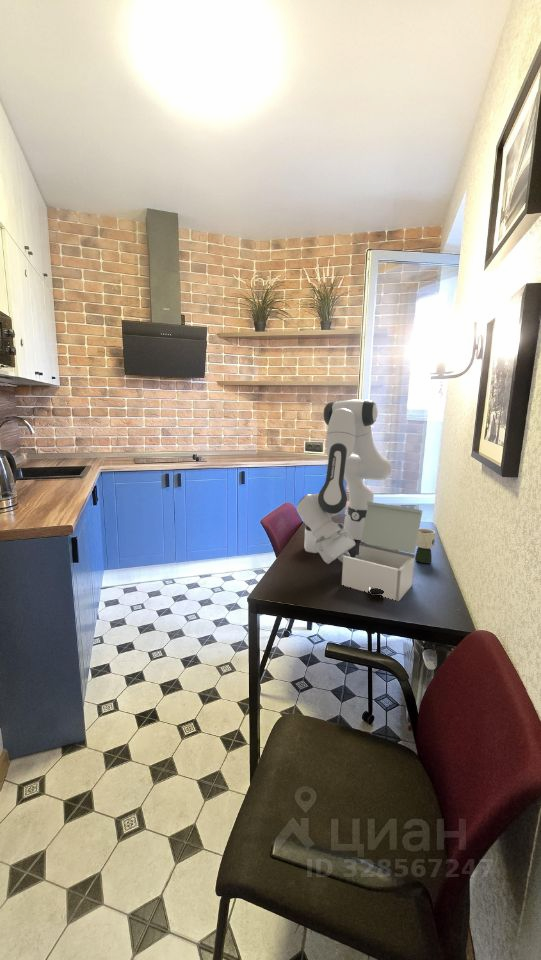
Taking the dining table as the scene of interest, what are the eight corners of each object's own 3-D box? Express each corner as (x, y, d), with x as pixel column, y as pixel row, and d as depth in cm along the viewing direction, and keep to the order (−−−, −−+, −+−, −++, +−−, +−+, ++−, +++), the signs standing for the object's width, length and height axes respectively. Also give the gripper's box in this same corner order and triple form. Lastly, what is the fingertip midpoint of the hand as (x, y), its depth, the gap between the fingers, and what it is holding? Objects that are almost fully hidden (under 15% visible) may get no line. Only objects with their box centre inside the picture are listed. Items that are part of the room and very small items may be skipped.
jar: (311, 554, 172) (312, 527, 170) (299, 548, 179) (300, 522, 177) (328, 550, 177) (329, 523, 175) (315, 545, 184) (317, 519, 182)
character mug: (434, 567, 161) (437, 535, 158) (415, 566, 162) (418, 534, 160) (430, 557, 171) (433, 527, 169) (412, 556, 172) (414, 526, 170)
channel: (358, 571, 156) (360, 542, 154) (412, 585, 145) (415, 554, 143) (341, 584, 144) (343, 553, 142) (398, 601, 133) (401, 567, 130)
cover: (359, 541, 152) (361, 542, 154) (412, 553, 141) (414, 553, 143) (367, 501, 154) (369, 502, 156) (420, 510, 143) (422, 511, 144)
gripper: (319, 536, 143) (344, 569, 139) (344, 522, 159) (367, 552, 156) (308, 545, 146) (331, 578, 143) (333, 531, 163) (355, 560, 159)
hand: (350, 564), depth 149 cm, fingers closed
